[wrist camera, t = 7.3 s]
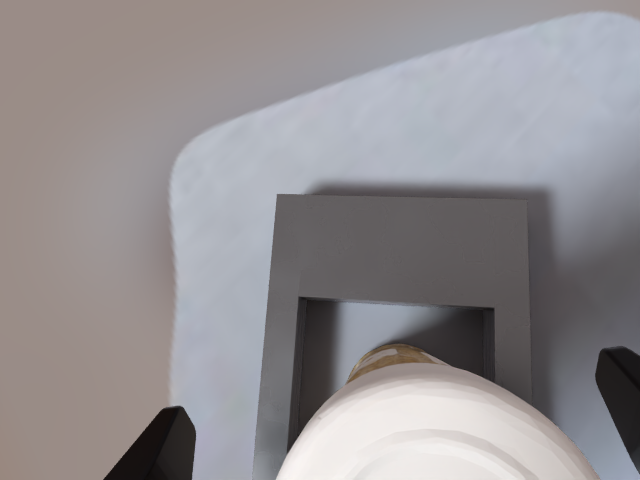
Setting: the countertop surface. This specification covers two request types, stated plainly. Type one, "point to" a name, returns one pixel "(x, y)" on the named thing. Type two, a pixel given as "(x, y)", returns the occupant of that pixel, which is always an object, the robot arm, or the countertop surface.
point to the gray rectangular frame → (390, 285)
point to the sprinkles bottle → (428, 428)
